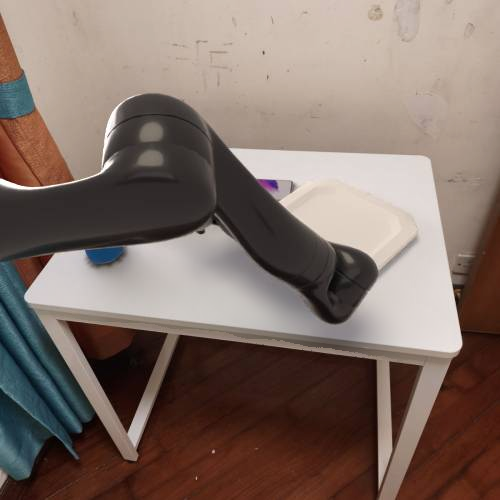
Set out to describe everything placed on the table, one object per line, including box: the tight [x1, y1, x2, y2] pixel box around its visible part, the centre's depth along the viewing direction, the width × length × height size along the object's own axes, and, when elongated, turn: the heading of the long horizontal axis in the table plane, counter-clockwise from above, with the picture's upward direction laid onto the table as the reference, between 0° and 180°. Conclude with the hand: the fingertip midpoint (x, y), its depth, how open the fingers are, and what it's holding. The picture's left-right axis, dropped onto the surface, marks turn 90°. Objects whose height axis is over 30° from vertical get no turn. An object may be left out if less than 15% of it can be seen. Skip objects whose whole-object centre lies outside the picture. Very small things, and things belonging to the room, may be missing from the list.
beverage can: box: [84, 246, 124, 264], centre depth 78 cm, size 6×6×12 cm
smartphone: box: [256, 178, 294, 202], centre depth 93 cm, size 7×1×15 cm
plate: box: [279, 178, 420, 272], centre depth 82 cm, size 25×25×2 cm
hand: (195, 184), depth 78 cm, fingers open, 8 cm apart
